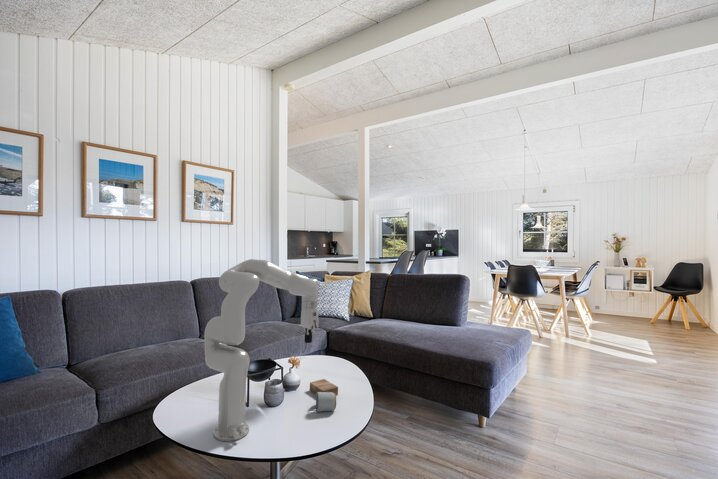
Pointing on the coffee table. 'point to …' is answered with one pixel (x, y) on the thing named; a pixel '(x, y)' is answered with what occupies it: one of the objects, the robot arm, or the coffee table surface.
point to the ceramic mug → (325, 401)
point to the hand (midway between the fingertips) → (308, 342)
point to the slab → (323, 387)
